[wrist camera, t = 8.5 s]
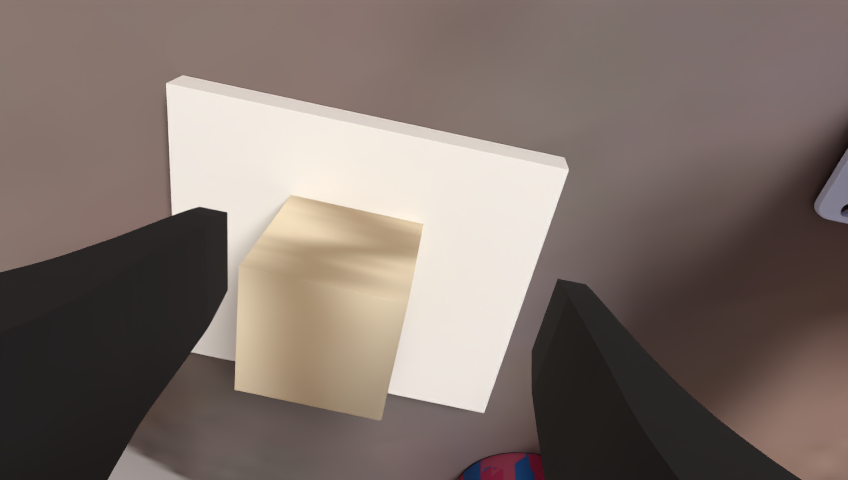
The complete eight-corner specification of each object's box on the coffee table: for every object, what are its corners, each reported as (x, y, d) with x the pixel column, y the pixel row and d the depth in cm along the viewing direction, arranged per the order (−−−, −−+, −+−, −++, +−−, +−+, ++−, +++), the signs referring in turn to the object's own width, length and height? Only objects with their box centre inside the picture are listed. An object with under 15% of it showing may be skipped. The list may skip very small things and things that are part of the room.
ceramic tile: (564, 157, 20) (569, 169, 19) (483, 393, 26) (483, 413, 25) (183, 75, 20) (166, 83, 18) (190, 332, 25) (178, 349, 24)
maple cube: (423, 224, 20) (408, 302, 16) (399, 327, 23) (380, 420, 18) (291, 194, 20) (239, 265, 16) (281, 302, 23) (234, 389, 18)
